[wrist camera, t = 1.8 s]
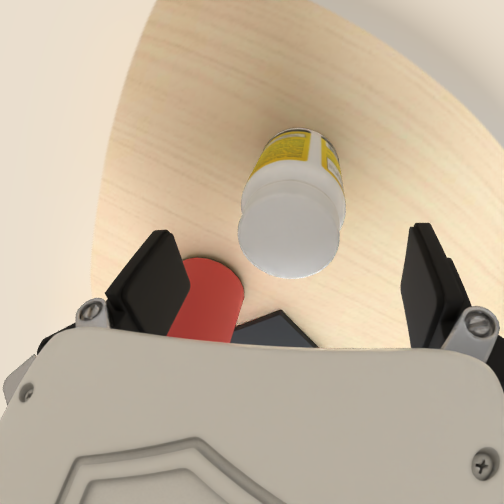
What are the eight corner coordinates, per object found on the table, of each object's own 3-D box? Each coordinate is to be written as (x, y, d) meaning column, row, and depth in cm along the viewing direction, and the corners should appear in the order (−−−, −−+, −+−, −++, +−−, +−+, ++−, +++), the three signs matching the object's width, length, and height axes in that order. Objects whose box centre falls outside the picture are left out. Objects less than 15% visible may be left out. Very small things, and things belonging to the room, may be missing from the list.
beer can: (176, 299, 28) (124, 406, 19) (172, 245, 24) (98, 366, 15) (242, 315, 28) (205, 434, 19) (249, 263, 24) (203, 404, 14)
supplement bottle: (251, 177, 19) (211, 257, 13) (280, 113, 16) (251, 161, 10) (317, 208, 20) (312, 300, 13) (352, 149, 17) (373, 221, 10)
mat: (156, 353, 37) (155, 357, 36) (280, 309, 26) (279, 314, 26) (252, 417, 44) (251, 420, 43) (368, 396, 34) (368, 400, 33)
